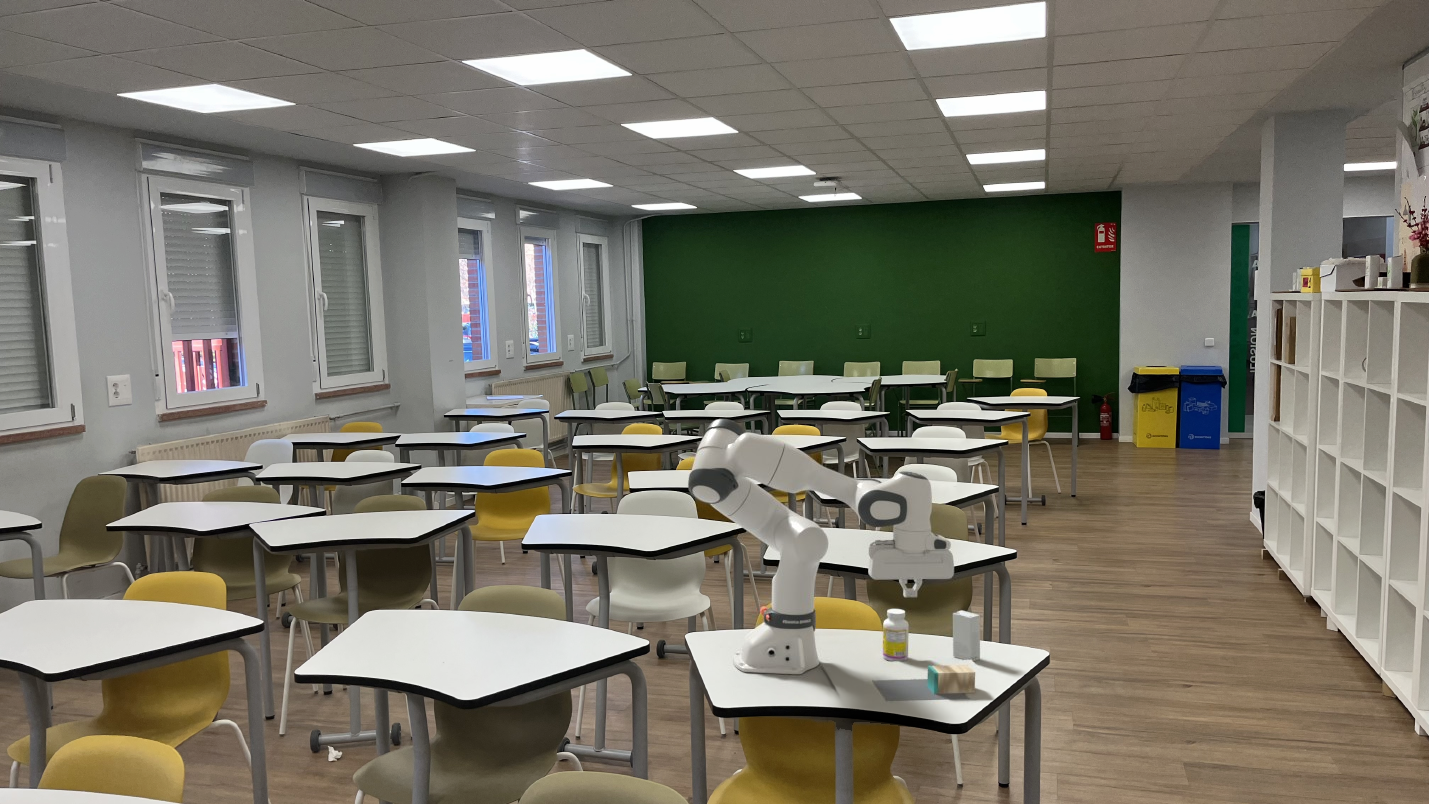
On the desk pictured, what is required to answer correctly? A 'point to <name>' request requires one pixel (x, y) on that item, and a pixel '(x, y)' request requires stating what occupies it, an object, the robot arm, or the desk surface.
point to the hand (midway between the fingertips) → (910, 596)
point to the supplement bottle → (895, 636)
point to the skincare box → (966, 635)
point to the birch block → (951, 679)
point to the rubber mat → (911, 690)
